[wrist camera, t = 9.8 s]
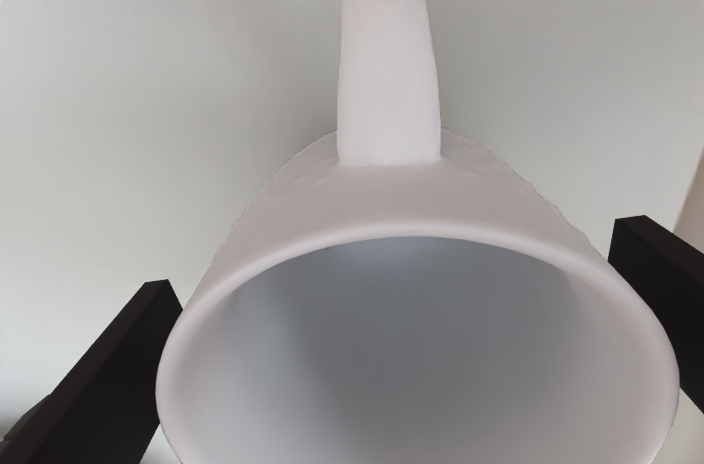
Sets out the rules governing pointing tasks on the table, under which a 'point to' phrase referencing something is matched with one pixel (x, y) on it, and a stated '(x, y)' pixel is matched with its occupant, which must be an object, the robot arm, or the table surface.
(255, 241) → the mug
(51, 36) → the table surface
